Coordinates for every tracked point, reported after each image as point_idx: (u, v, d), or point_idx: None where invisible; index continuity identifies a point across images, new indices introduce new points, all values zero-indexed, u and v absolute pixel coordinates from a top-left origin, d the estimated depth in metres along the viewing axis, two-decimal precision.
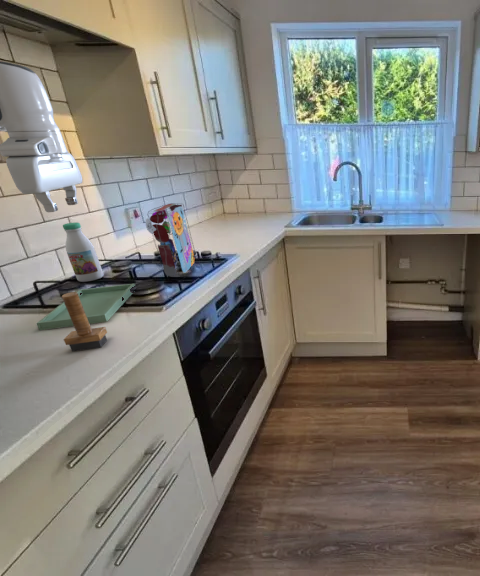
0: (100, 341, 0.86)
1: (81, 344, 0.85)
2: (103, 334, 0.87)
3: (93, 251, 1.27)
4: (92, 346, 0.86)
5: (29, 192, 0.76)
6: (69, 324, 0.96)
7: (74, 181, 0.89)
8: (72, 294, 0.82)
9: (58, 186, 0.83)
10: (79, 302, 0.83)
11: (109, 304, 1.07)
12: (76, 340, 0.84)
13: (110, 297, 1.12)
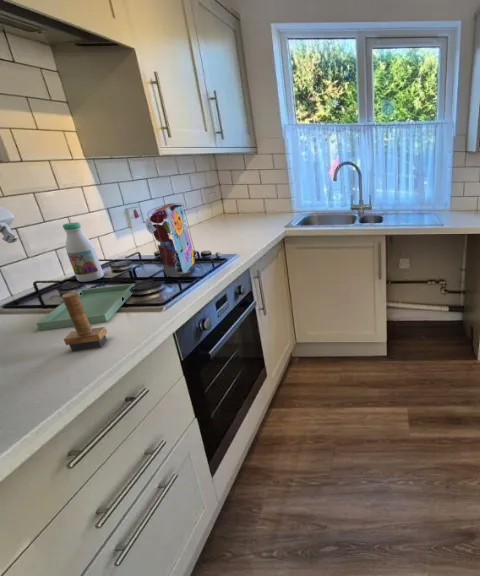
0: (100, 341, 0.86)
1: (81, 344, 0.85)
2: (103, 334, 0.87)
3: (93, 251, 1.27)
4: (92, 346, 0.86)
5: None
6: (69, 324, 0.96)
7: None
8: (72, 294, 0.82)
9: None
10: (79, 302, 0.83)
11: (109, 304, 1.07)
12: (76, 340, 0.84)
13: (110, 297, 1.12)
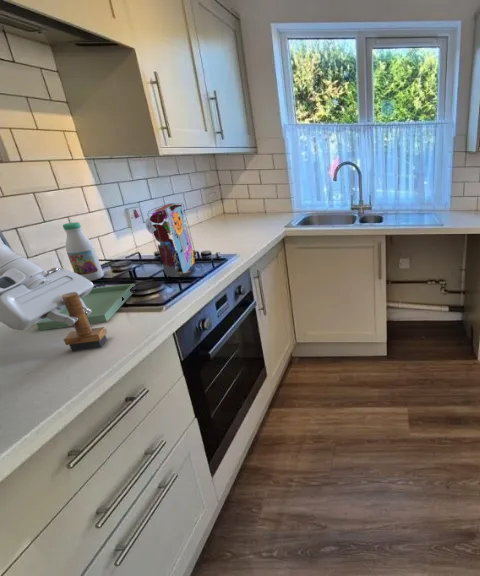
0: (100, 341, 0.86)
1: (81, 344, 0.85)
2: (103, 334, 0.87)
3: (93, 251, 1.27)
4: (92, 346, 0.86)
5: (23, 326, 0.74)
6: None
7: (79, 290, 0.87)
8: (72, 294, 0.82)
9: (55, 303, 0.80)
10: (79, 302, 0.83)
11: (109, 304, 1.07)
12: (76, 340, 0.84)
13: (110, 297, 1.12)
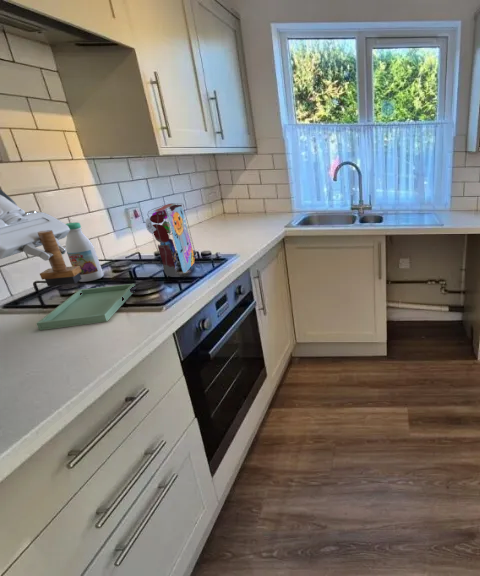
0: (74, 278, 0.93)
1: (56, 280, 0.92)
2: (77, 272, 0.94)
3: (93, 251, 1.27)
4: (67, 282, 0.93)
5: (0, 254, 0.81)
6: (69, 324, 0.96)
7: (55, 230, 0.94)
8: (47, 231, 0.89)
9: (31, 238, 0.87)
10: (54, 239, 0.90)
11: (109, 304, 1.07)
12: (51, 275, 0.91)
13: (110, 297, 1.12)
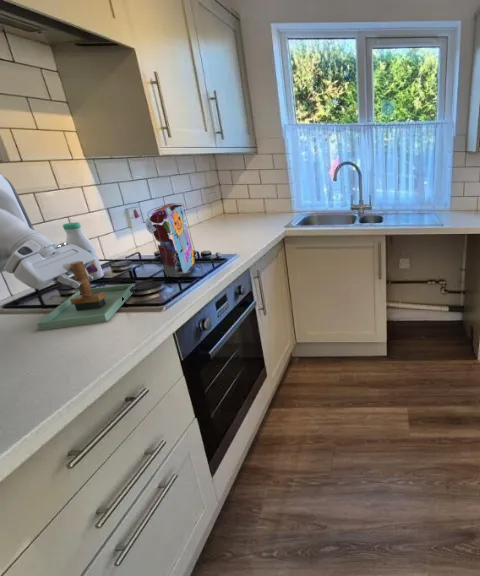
0: (100, 302, 1.05)
1: (84, 304, 1.04)
2: (102, 297, 1.06)
3: (93, 251, 1.27)
4: (93, 306, 1.04)
5: (39, 285, 0.93)
6: (69, 324, 0.96)
7: (83, 260, 1.06)
8: (78, 262, 1.01)
9: (64, 269, 0.99)
10: (84, 269, 1.02)
11: (109, 304, 1.07)
12: (80, 300, 1.03)
13: (110, 297, 1.12)
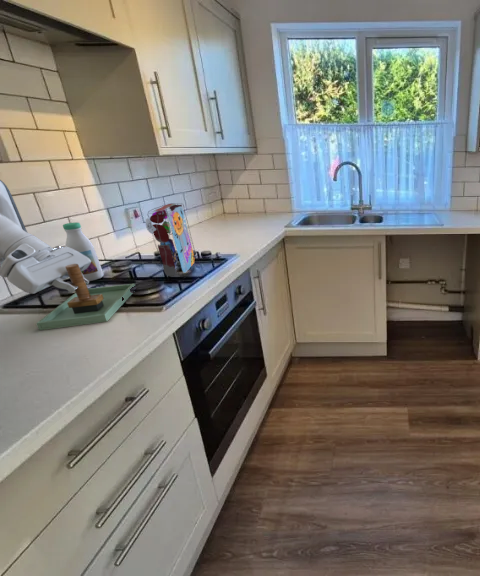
0: (97, 305, 1.03)
1: (82, 308, 1.02)
2: (100, 300, 1.04)
3: (93, 251, 1.27)
4: (91, 309, 1.03)
5: (33, 290, 0.91)
6: (69, 324, 0.96)
7: (79, 264, 1.04)
8: (74, 265, 0.99)
9: (59, 273, 0.97)
10: (79, 272, 1.00)
11: (109, 304, 1.07)
12: (77, 304, 1.01)
13: (110, 297, 1.12)
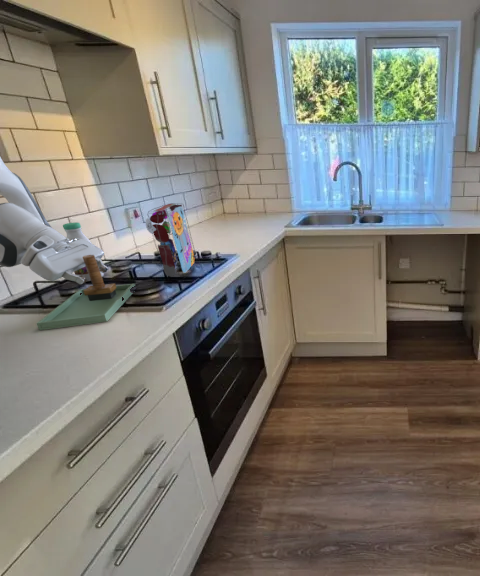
0: (111, 294, 1.11)
1: (97, 295, 1.10)
2: (113, 288, 1.12)
3: None
4: (105, 297, 1.11)
5: (53, 277, 0.99)
6: (69, 324, 0.96)
7: None
8: (90, 256, 1.07)
9: (75, 263, 1.05)
10: (95, 262, 1.08)
11: (109, 304, 1.07)
12: (93, 292, 1.09)
13: None
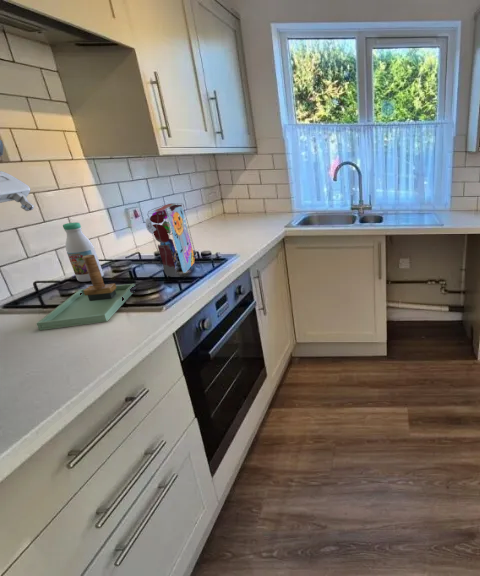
0: (111, 294, 1.11)
1: (97, 295, 1.10)
2: (113, 288, 1.12)
3: (93, 251, 1.27)
4: (105, 297, 1.11)
5: None
6: (69, 324, 0.96)
7: (14, 189, 0.94)
8: (90, 256, 1.07)
9: None
10: (95, 262, 1.08)
11: (109, 304, 1.07)
12: (93, 292, 1.09)
13: None
